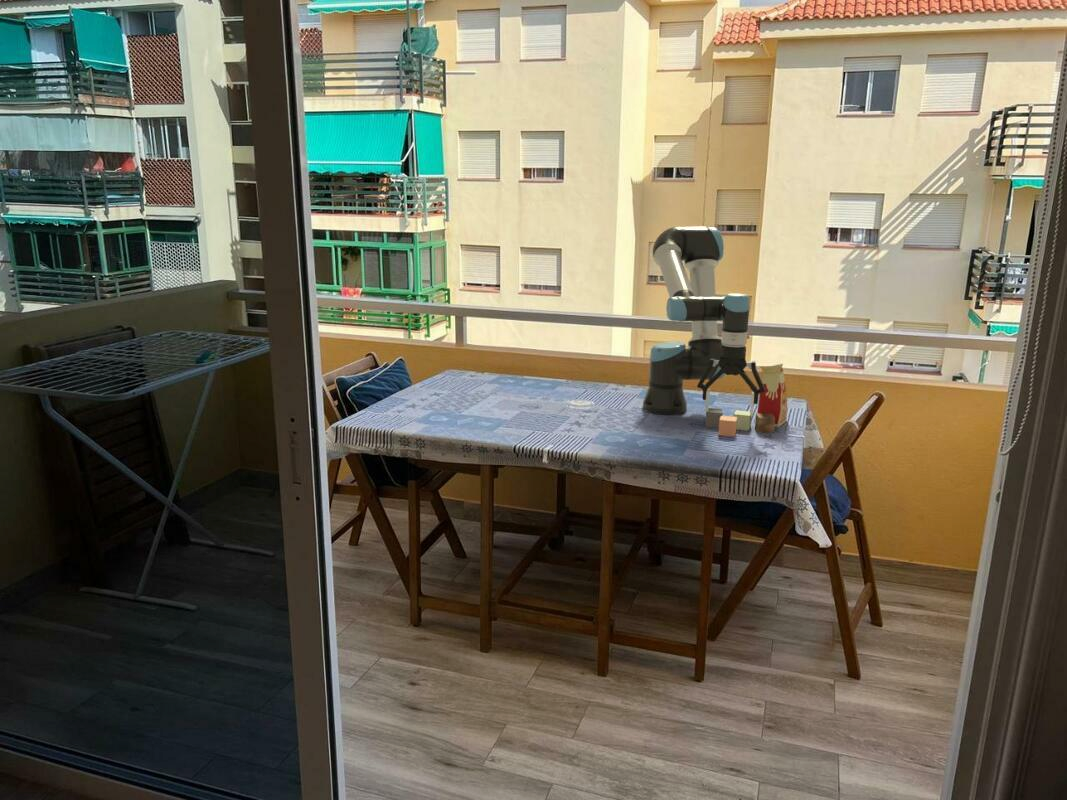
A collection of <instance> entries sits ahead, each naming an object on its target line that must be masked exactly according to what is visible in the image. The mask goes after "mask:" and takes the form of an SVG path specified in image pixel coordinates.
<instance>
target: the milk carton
mask: <svg viewBox="0 0 1067 800" xmlns="http://www.w3.org/2000/svg"><path fill="white" fill-rule="evenodd" d="M783 365H784V363H779V364H774V365H760V366H759V368H760V369H761V381H762V383H763V385H764V388H765V392H763V393H759V394H758V403H757V410H756V411H757V412H756V413H761V414H773V416H774V417H775V426H774V427H776V426H777V428H779V427H781V426H782V425H784V424H785V423H786V422H785V421H786V420H787V421H788V399H787V397H788V396H787V386H786V381H785V380H786V379H785V373H784V368H783ZM755 420H756V418H755ZM780 425H781V426H780Z"/></svg>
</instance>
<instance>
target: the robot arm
mask: <svg viewBox="0 0 1067 800" xmlns="http://www.w3.org/2000/svg"><path fill="white" fill-rule="evenodd" d="M652 246H653V247H652V257H653V260H654V263H655V264H656V265H657V266H658V267H660V268H659V269H660V272H661V274H662V278H663V281H664V283H665V287H666V290H667V293H668V296H669V297H668V299H667V301H666V307H665V308H666V311H665V312H666V316H667V319H668V320H669V321H674V322H691V334H692V337H691V338H690V339H689V340H688V344H687V345H686V344H685V342H684V341H680V340H679V341H676V340H675V341H674V340H672V341H671V340H670V341H665V342H664V341H663V342H660V343H656V344H654V345H653V346H652V347H651V348H650V354H649V355H650V356H649V359H648V360H649V371H648V372H649V373H648V374H649V377H648V378H649V379H648V388H647V390H646V393H645V396H644V397H643V398H644V399H643V402H642V410H644V411H645V412H648V413H651V414H655V415H669V416H670V415H679V414H683V413H685V412H686V411H687V407H688V403H687V400H686V395H685V392H684V388H683V387H684V386H683V384H684V381H694V380H695V381H696V380H697V381H698V383H697V388H698V389H701V390H702V396H701V397H702V401H705V407H704V408H705V409H704V411H705V412H706V411H708V409H709V406H710V393H711V390H710V387H711V386H712V385H713V384H714V383H715V382H716V381H717V380H720V379H723V378H724V377H725V376H726V375H727V376H731V375H732V376H739V375H740V377H741V378H742V379H743V380H744V382H745V383H746V384H747V385H748V387H749V389H750V390H751V391H752V392H751V396H750V397H751V399H750V411H749V412H750V415H752V416H753V415H754V406H755V405H758V402H759V394H760V393H763V392H765V388H764V385H763V383H762V381H761V380H762V378H761V376H760V374H759V372H758V369H757V362H756V361H755V360H752V361H747V360H746V356H747V346H746V345H747V343H748V327H749V318H750V317H749V316H750V308H751V305H750V304H751V303H750V299H751V298H750V296H749V295H748V294H746V293H735V292H734V293H733V292H731V293H726V294H725V295H723V294H722V295H717V296H716V278H715V277H716V275H715V274H716V273H715V269H716V268H717V267H718V265H719V261H721V260H722V259H723V257H724V249H725V246H724V239H723V235H722V233H721V231H720V230H719V229H718V228H717V227H710V226H673V227H670V228H668V229H666V230H664V231H662V232H661V233H660V234H659V236H657V238H656V239H655V241H654V244H653V245H652ZM683 261H684V263H683ZM686 269H687V270H688V271H689V277H688V275H687V272H686ZM718 322H722V328H721V337H720V336H719V335H718ZM746 367H748V369H749V370H751V373H752V375H753V377H754V379H755V382H756V384H757V386H758V387H757V386H756V385H755V383H754V382H753V381H752V380H751V378H750V376H749V375H748V374H747V373H746V371H745V369H746ZM706 380H708V381H707V382H706V383H705V384H704V382H705V381H706Z"/></svg>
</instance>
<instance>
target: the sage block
mask: <svg viewBox="0 0 1067 800" xmlns="http://www.w3.org/2000/svg"><path fill="white" fill-rule="evenodd" d="M733 417H737V425H736V430H739V429H740V430H741V431H747V430H749V431H750V429H751V427H752V419H753V418H752V417H753V415H750V411H749V410H747V411H746V410H738V409H736V410H735V412H733ZM740 430H739V431H740Z"/></svg>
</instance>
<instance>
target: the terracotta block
mask: <svg viewBox="0 0 1067 800" xmlns="http://www.w3.org/2000/svg"><path fill="white" fill-rule="evenodd" d="M736 425H737V417H734V416H729V415H723V416H721V417H720V420H719V427H718V435H719V436H726V437H736V433H737V429H736Z"/></svg>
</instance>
